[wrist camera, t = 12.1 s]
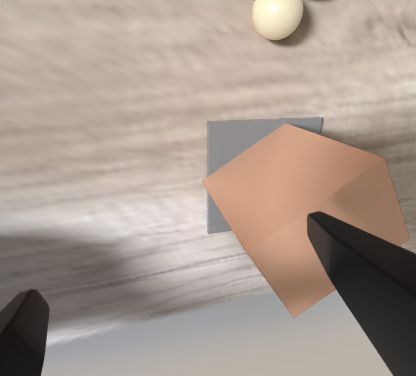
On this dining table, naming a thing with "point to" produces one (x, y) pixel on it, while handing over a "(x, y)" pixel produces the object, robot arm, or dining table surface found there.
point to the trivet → (240, 150)
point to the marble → (276, 17)
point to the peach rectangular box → (302, 205)
